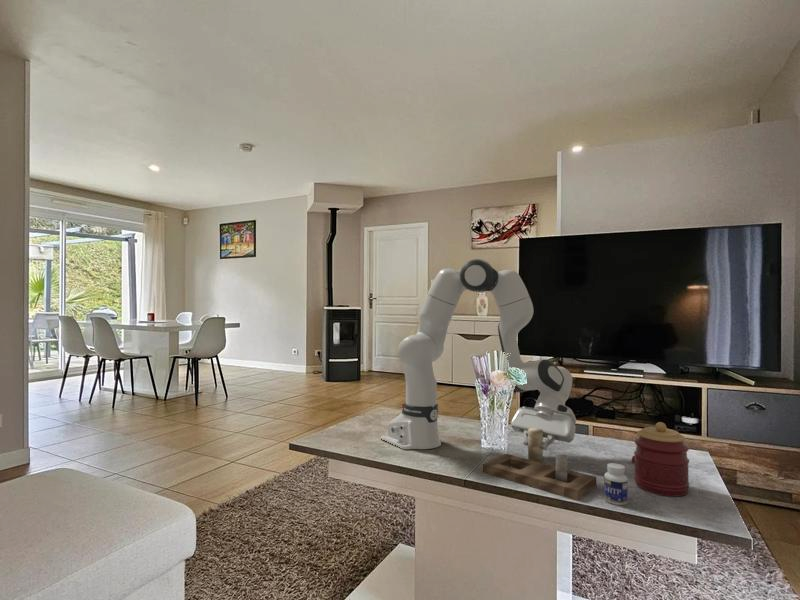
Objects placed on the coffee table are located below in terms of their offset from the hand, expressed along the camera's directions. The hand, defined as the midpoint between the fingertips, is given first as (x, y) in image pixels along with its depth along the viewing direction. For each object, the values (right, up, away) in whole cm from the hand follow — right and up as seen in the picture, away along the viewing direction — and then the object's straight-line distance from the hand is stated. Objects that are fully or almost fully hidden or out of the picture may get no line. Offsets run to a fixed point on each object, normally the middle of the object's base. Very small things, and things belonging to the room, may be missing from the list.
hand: (534, 446), depth 141 cm
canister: (+29, -5, -19) cm, 35 cm away
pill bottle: (+12, -5, -28) cm, 31 cm away
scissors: (+9, -6, +29) cm, 31 cm away
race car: (+37, -6, +2) cm, 38 cm away
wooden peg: (0, -5, 0) cm, 5 cm away
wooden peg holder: (-3, -5, -14) cm, 15 cm away
